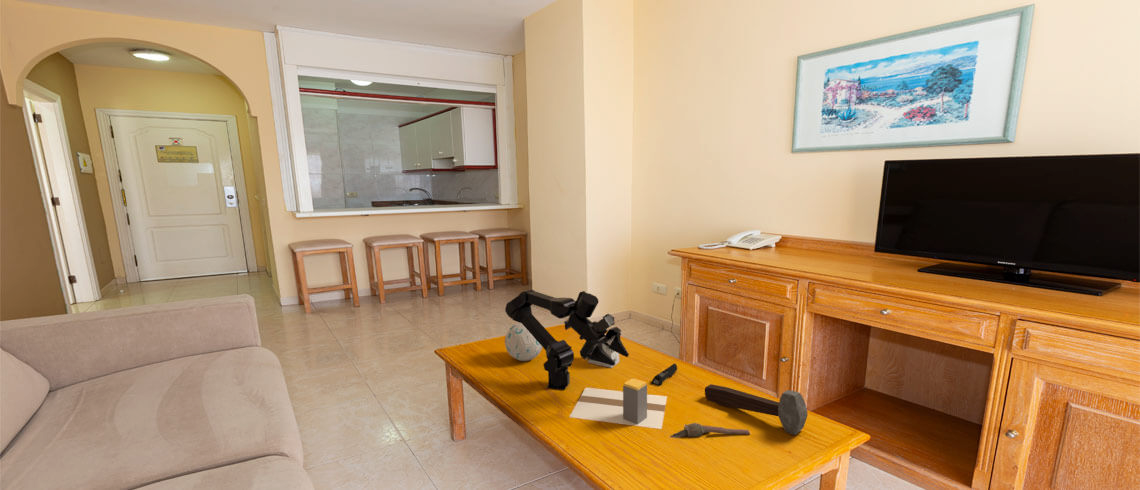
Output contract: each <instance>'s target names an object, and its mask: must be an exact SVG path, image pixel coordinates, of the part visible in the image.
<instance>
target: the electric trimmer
mask: <svg viewBox="0 0 1140 490" xmlns="http://www.w3.org/2000/svg"><path fill="white" fill-rule="evenodd" d="M677 371H678V366H677V363H673V364H671V365H670V366H668V367H667V368H665V369H664V370H662V371H660V372H659V373H658V374H656V375H655V376H654V377H653V378H652V380H651V385H653V386H658V387H660V386H662V385H663V383H664V382H665V381H666V380H667V379H668V378H672V377H673V376H674V375H675V373H676V372H677Z"/></svg>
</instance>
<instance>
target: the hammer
mask: <svg viewBox="0 0 1140 490" xmlns="http://www.w3.org/2000/svg"><path fill="white" fill-rule="evenodd" d="M704 395H705V399H706V401H708V402H710V403H714V404H717V405H719V406H724V407H727V408H728V407H729V408H733V409H738V410H744V411H749V412H755V413H758V414H763V415H764V414H765V415H769V416H774V417H778V418H779V421H780V423H781V425H782V427H783V430H784V432H786V433H787V434H790V435H792V436H796V435H797V434H798V433H800V432H801V431H802V430H803V429H804V427H805V424H806V422H807V418H808V409H807V405H806V402H805V400H804V398H803V395H802V394H801V392H798V391H795V390H790V389H789V390H785V391H783V393H781V395H780V397H779V401H776V400H772V399H769V398H766V397H761V396H758V395H756V394H755V395H754V394H752V393H747V392H745V391H741V390H737V389H734V388H731V387H728V386H727V387H726V386H722V385H717V384H712V383H711V384H708V385H707V386H705V388H704Z"/></svg>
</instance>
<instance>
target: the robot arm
mask: <svg viewBox="0 0 1140 490" xmlns="http://www.w3.org/2000/svg"><path fill="white" fill-rule="evenodd" d="M599 302H600V301H599V299H598V297H597V296H596V295H594V294H592V293H589V292H586V291H585V290H583V291H580V292H579V293H578V296H577V298H576V300H575V299H574V298H572V297H554V296H552V295H549V294H545V293H542V292H539V291H535V290H534V289H527V290H523V291H521V292H520V293H519V294H518V295H517V296H516V297H515V298H512V299H511V301H507V303H506V305H505V309H504V311H505V313H506V315H507V316H508V317H509V318H510V319H511V320H512V321H514V322H516V323H522V324H523V325H524V327H525V328H526V329H527V330H528V331H529V332H530V333H531V334H532V336H533V337H534V338H535V339H536V340H537V341H538V342H539V343H540V345H541V346H542V349H544V350H545V356H546V359H547V360H546V361H545V362H544V363H543V369H544V371H546V372H547V373H548V375H547V377H548V380H547V381H548V383H547V384H546V385H547V386H546V388H547V389H551V390H552V389H553V390H563V391H565V390H566V389H567V387H568V386H569V385H570V380H571V379H570V378H571V377H570V376H571V375H570V371H569V368H570V367H572V365H573V362H574V360H575V352H574V350H573V349H572V346H570V345H569V344H568V343H567V342H566V340H565V339H562V340H559V341H558V340H556V339H555V337H554V336H553V335H552V334H551V333H550V332H549V331H548V330H547V329H546V328H545V326H544V325H543V324H542V323H540V321H539V320H538V319H537V318H536V317H535V316H534V315H533V313H532V306H533V305H534V306H537V307H539V308H542V309H545V310H547V311H549V312H550V314H551V315H553V316H554V317H555V318H557V319H564V318H567V320H565V321H563V323H564V330H565V331H567V330H569V329H573V331H574V332H576V333H577V334H578V336H579V340H580V341H583V340H584V341H585V342H584V344H583V345H582V347H581V349H580V350H579V354H580V357H581V358H582V359H583V360H587V361H588V360H594V361H598V362H602V363H605V364H608V365H612V366H614V365H615V362H614V361H613V360H612V358H611V357H610V356H609V355H608V354H607V353H606V352H605V351H604V350H603V347H602V344H605V345H606V346H609V347H608V348H609V349H611V350H613V351H615V352H617V353H619V355H621V356H623V357H626V358H628V357H629V355H630V354H629V351H628V350H627V349H626V347H625V345H624V344H623V341H622V340H621V335H622V334H621V332H622V330H621V329H620V328H619V327H618V326H614V325H615V324H616V322H615V317H614V316H613V315H612V314H610V313H606V314H605V315H603V317H602V319H600V320H598V321H596V320H595V321H593V322H592V321H591V320H590V319H589V318H591V317H592V316H593V314H594V312H595V310H596V308H597V306H598V304H599ZM612 326H613V327H612ZM610 327H611V328H610ZM605 334H606V335H605ZM615 366H616V365H615ZM615 366H614V367H615Z"/></svg>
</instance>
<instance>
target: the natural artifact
mask: <svg viewBox="0 0 1140 490" xmlns="http://www.w3.org/2000/svg"><path fill="white" fill-rule="evenodd" d="M705 433H715V434H716V433H717V434H724V435H750V434H751V432H750V431H749V429H741V428H740V429H736V428H725V427H722V426H710V425H703V424H700V423H696V422H693V423H689V424H685V423H684V428H683V429H682V430H679V431H678V432H676V433H672V434H671V435H669V438H672V439H673V438H675V439H677V438H678V439H680V438H683V437H688V438H693V437H694V438H697V437H701V436H703V434H705Z"/></svg>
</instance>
